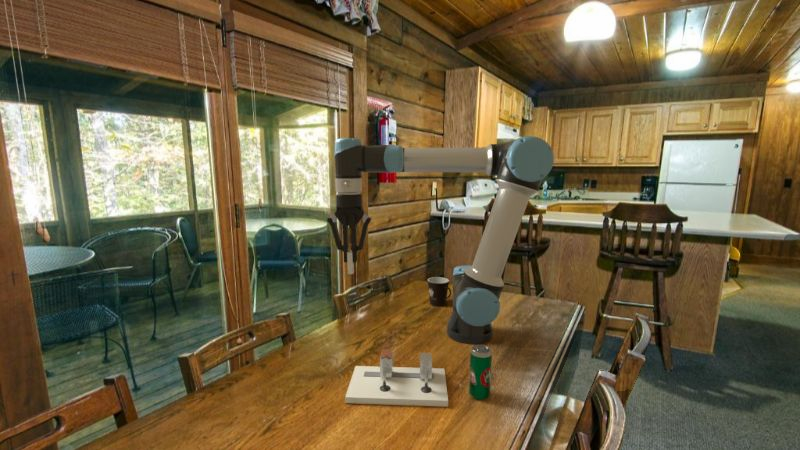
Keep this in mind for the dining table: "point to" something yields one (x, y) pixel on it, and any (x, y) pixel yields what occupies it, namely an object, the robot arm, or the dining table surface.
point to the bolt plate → (397, 387)
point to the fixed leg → (426, 367)
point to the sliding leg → (386, 364)
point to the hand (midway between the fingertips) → (350, 272)
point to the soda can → (480, 372)
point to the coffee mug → (438, 291)
